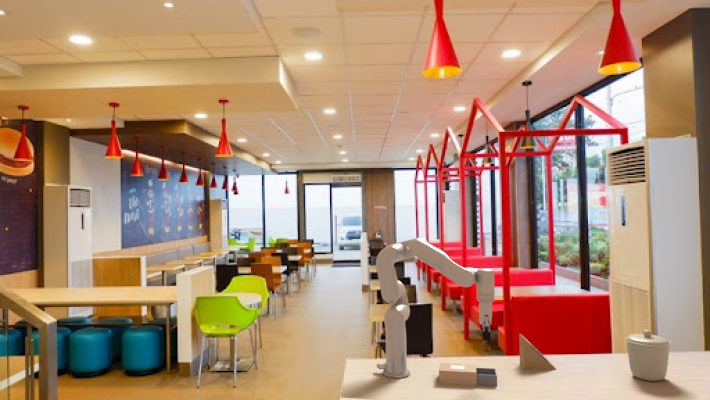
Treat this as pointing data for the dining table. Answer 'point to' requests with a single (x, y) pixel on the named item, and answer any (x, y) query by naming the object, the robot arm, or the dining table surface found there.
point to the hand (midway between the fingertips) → (486, 338)
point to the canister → (648, 355)
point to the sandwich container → (532, 356)
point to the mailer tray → (486, 376)
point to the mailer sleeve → (457, 374)
